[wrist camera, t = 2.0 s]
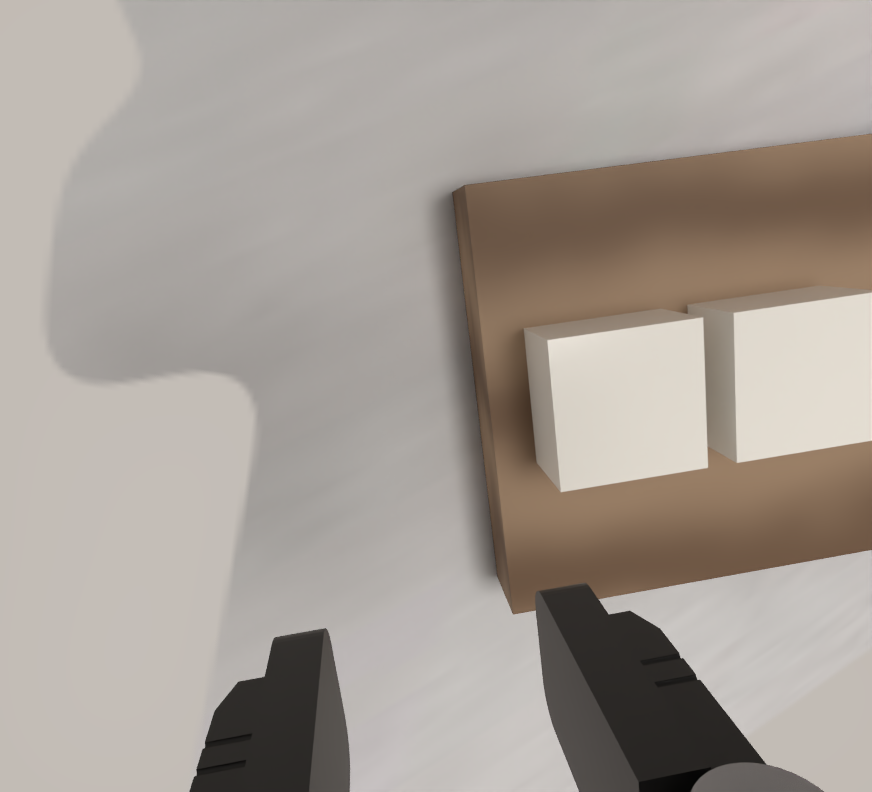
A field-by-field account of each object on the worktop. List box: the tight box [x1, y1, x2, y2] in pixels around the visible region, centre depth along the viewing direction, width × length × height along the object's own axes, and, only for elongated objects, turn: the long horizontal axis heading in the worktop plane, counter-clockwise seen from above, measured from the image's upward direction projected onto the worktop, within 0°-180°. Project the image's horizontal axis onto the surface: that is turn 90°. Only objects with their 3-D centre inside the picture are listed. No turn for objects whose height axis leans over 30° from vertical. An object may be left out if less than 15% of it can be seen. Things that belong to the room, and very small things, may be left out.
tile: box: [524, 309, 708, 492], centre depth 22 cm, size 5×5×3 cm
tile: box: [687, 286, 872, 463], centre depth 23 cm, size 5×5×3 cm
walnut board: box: [452, 134, 872, 614], centre depth 26 cm, size 16×16×3 cm
